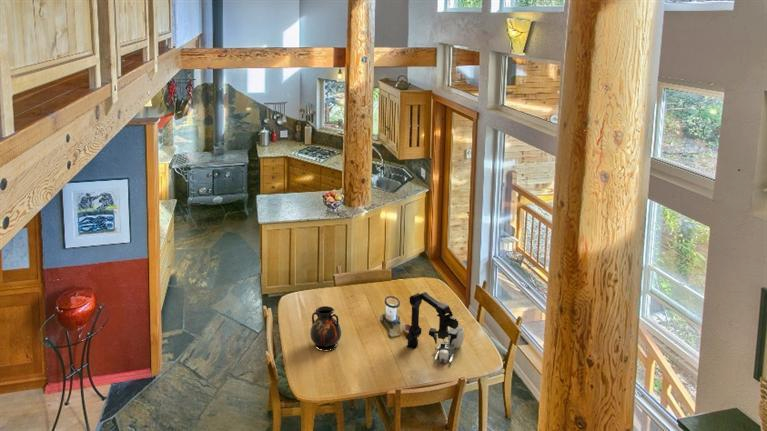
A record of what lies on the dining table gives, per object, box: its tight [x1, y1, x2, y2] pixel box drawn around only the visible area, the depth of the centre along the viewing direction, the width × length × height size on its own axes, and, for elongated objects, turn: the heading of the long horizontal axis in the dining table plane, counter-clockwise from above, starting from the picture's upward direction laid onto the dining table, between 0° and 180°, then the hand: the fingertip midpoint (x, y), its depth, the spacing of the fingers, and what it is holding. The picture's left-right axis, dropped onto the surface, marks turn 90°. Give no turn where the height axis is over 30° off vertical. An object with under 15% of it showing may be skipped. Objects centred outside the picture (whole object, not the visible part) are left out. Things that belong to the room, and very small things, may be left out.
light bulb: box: [438, 350, 449, 365], centre depth 430 cm, size 6×8×7 cm
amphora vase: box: [309, 305, 342, 351], centre depth 449 cm, size 22×22×28 cm
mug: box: [442, 325, 465, 349], centre depth 450 cm, size 15×11×13 cm
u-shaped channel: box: [434, 341, 456, 366], centre depth 435 cm, size 14×17×8 cm
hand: (443, 344), depth 429 cm, fingers open, 9 cm apart
